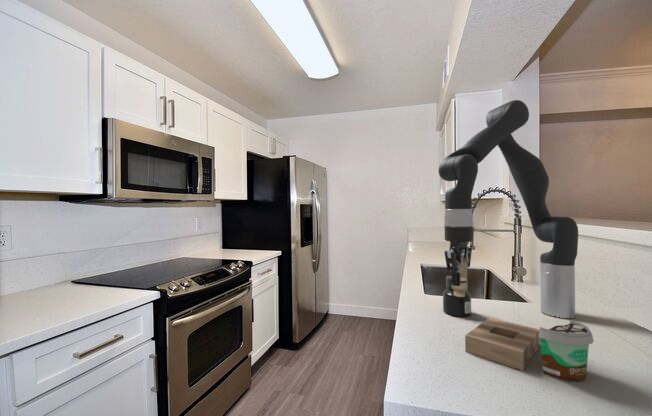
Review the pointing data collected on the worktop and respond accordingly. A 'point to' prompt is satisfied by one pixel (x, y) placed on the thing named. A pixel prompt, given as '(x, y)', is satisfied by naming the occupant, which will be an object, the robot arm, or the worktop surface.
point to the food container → (565, 351)
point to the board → (503, 342)
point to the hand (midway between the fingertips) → (459, 283)
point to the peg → (461, 281)
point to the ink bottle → (456, 301)
